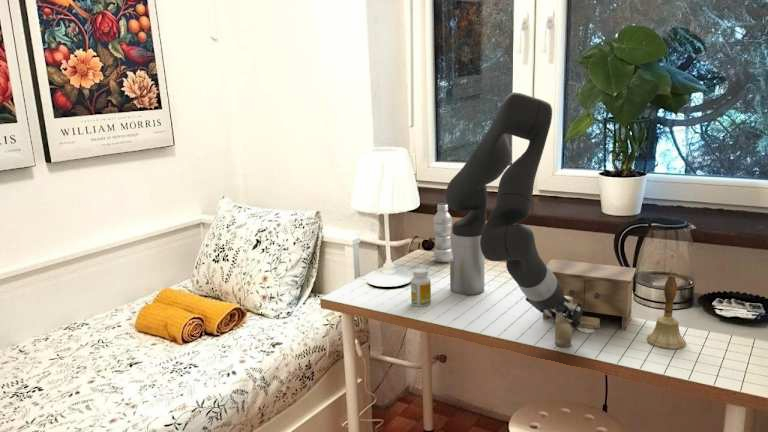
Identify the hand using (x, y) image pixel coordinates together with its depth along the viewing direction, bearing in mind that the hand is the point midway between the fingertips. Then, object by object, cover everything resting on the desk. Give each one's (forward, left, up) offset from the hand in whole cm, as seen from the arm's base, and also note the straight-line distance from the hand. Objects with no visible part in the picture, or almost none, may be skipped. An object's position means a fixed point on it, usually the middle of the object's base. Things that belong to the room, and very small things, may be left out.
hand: (568, 322), depth 140 cm
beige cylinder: (0, +4, -5) cm, 6 cm away
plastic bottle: (-52, +49, -5) cm, 71 cm away
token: (+3, +8, -5) cm, 10 cm away
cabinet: (+1, +17, -5) cm, 18 cm away
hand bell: (+20, +9, -5) cm, 23 cm away
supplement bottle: (-42, +9, -5) cm, 43 cm away
